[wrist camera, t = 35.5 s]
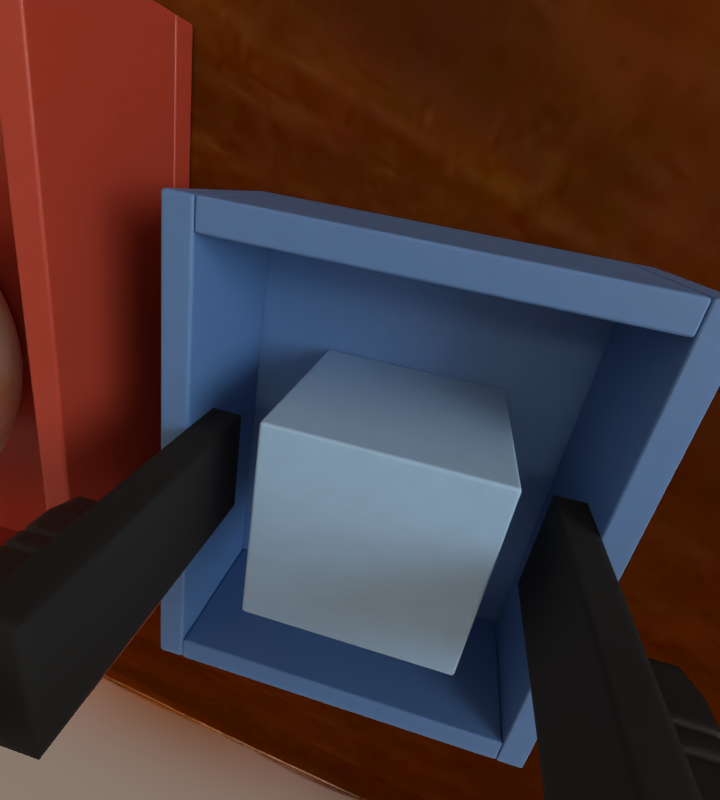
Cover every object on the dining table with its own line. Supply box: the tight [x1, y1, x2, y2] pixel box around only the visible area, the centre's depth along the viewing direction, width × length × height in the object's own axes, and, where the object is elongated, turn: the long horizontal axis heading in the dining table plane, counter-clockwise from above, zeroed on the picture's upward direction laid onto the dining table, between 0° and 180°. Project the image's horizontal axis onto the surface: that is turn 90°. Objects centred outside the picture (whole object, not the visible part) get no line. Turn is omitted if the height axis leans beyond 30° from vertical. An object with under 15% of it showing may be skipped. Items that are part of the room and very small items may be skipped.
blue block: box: [242, 350, 522, 675], centre depth 12 cm, size 5×5×5 cm
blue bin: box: [161, 188, 720, 768], centre depth 13 cm, size 10×12×5 cm
